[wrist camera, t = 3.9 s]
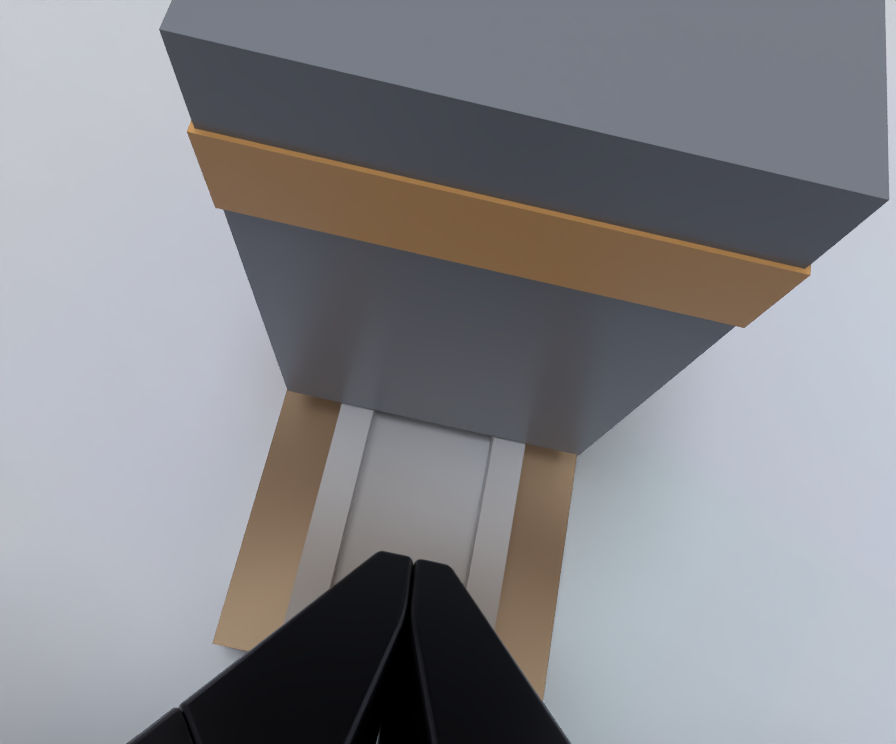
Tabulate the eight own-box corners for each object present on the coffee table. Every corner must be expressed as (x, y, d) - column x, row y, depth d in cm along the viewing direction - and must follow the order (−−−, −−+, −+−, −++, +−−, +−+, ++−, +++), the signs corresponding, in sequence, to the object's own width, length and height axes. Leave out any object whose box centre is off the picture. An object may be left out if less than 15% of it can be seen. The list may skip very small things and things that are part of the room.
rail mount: (527, 705, 14) (620, 753, 9) (225, 641, 14) (136, 652, 9) (625, 31, 20) (715, -180, 15) (416, -19, 20) (431, -250, 15)
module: (580, 458, 13) (896, 207, 5) (284, 392, 13) (149, 33, 5) (612, 225, 15) (884, -226, 7) (351, 165, 15) (328, -366, 7)
